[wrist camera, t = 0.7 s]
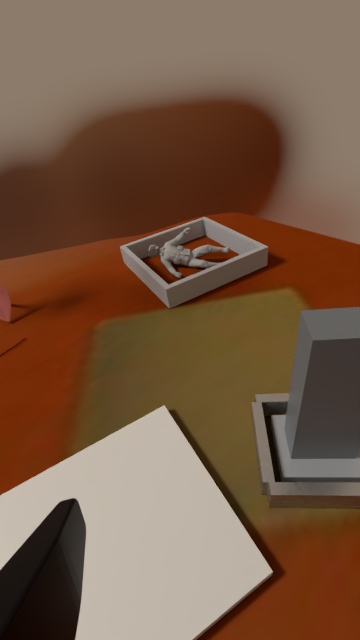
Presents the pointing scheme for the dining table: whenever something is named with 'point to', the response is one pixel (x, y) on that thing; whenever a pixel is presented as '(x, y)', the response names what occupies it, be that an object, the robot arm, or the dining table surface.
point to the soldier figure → (183, 254)
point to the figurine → (5, 308)
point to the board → (143, 534)
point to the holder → (293, 491)
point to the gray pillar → (322, 401)
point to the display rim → (203, 281)
